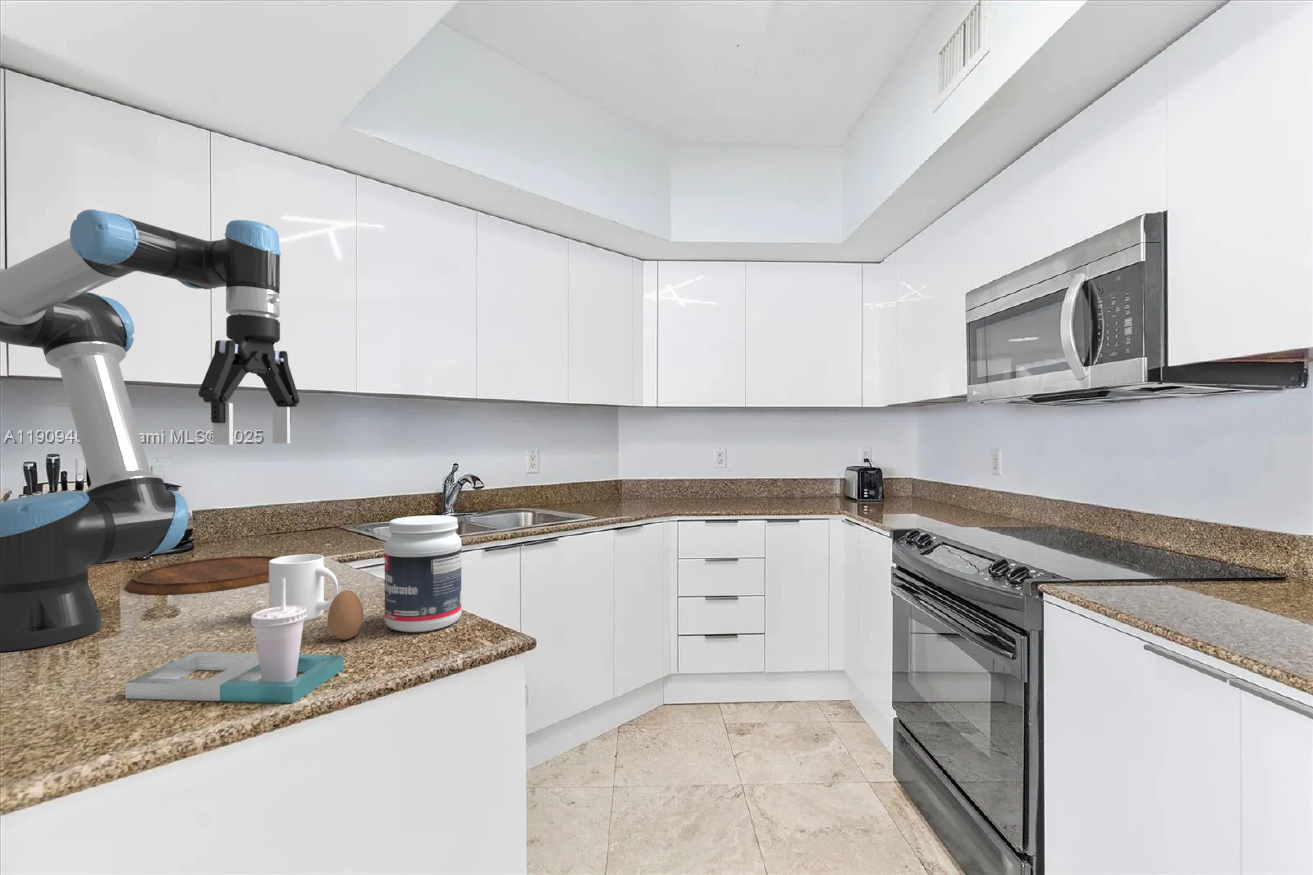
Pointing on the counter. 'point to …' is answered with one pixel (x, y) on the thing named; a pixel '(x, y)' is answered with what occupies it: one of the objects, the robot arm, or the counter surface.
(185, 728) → the counter surface
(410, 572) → the supplement tub
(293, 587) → the mug
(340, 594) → the egg
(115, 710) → the counter surface
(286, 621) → the smoothie
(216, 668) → the rail
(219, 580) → the cutting board
